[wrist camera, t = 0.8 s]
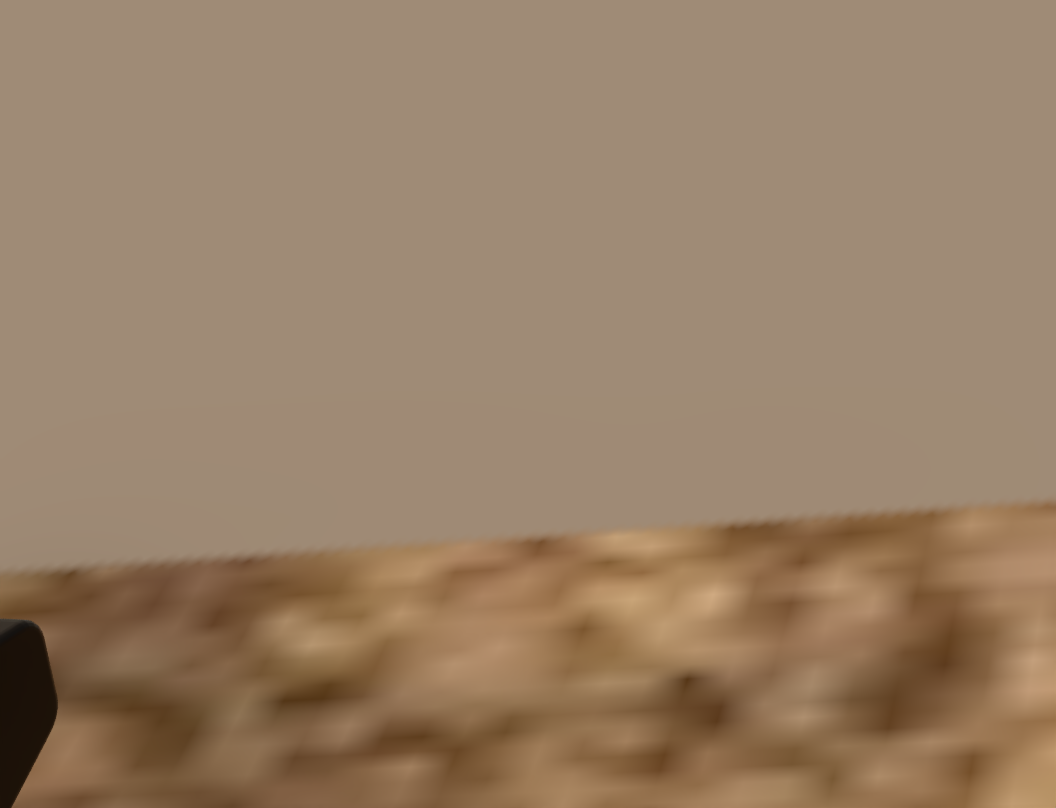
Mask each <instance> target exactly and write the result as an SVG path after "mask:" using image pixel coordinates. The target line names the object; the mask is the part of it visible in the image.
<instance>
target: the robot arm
mask: <svg viewBox="0 0 1056 808" xmlns="http://www.w3.org/2000/svg"><path fill="white" fill-rule="evenodd" d="M57 709H58V700H57V693H56V689H55V684H54V680H53V675H52V671H51V666H50V662H49V657H48V653H47V648H46V644H45V639H44V636H43V633H42V631H41V629H40V628H39V626H38V625H37V624H35V623H34V622H32V621H29V620H17V619H0V808H11V807H12V805H13V804H14V802H15V800H16V798H17V796H18V794H19V792H20V790H21V788H22V786H23V784H24V782H25V780H26V778H27V777H28V775H29V773H30V771H31V769H32V767H33V765H34V763H35V761H36V759H37V757H38V755H39V753H40V752H41V750H42V748H43V746H44V744H45V742H46V740H47V738H48V736H49V734H50V732H51V730H52V728H53V725H54V722H55V719H56V715H57Z"/></svg>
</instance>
